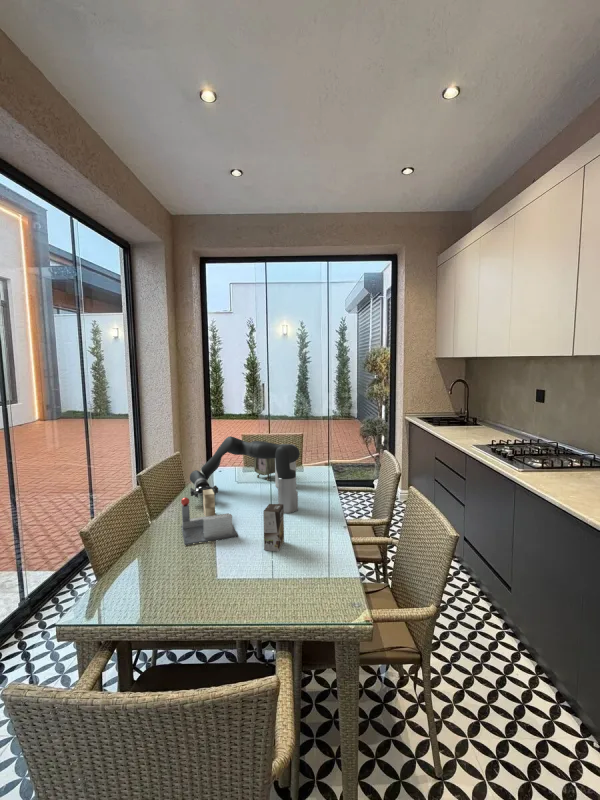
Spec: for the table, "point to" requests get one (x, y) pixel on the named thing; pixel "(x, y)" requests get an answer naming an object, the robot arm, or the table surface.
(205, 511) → the maple block
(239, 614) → the table surface
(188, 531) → the vise bed
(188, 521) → the vise slide jaw
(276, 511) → the coffee box
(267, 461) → the tabletop clock
